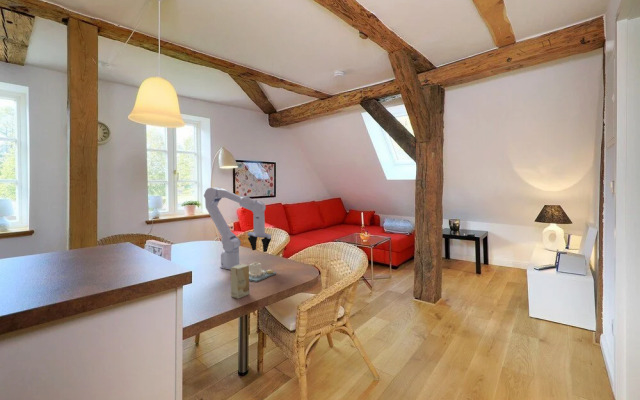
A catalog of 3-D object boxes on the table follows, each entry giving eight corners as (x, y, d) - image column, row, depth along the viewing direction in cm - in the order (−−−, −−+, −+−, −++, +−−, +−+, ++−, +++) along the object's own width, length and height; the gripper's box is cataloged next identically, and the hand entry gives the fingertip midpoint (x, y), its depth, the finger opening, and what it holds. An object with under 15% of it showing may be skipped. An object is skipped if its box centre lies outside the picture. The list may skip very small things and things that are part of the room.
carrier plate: (234, 277, 146) (234, 269, 146) (254, 269, 158) (254, 262, 158) (256, 282, 139) (256, 274, 139) (275, 273, 151) (275, 266, 151)
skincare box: (238, 299, 120) (237, 268, 119) (230, 297, 122) (229, 267, 121) (250, 293, 125) (249, 264, 124) (242, 291, 128) (241, 263, 127)
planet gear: (242, 275, 147) (242, 264, 147) (254, 270, 155) (254, 260, 154) (256, 277, 143) (255, 267, 142) (268, 272, 150) (267, 262, 150)
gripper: (243, 225, 159) (244, 250, 160) (264, 227, 152) (265, 254, 153) (252, 223, 165) (253, 248, 166) (273, 225, 158) (274, 251, 159)
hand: (259, 250), depth 160 cm, fingers open, 7 cm apart
